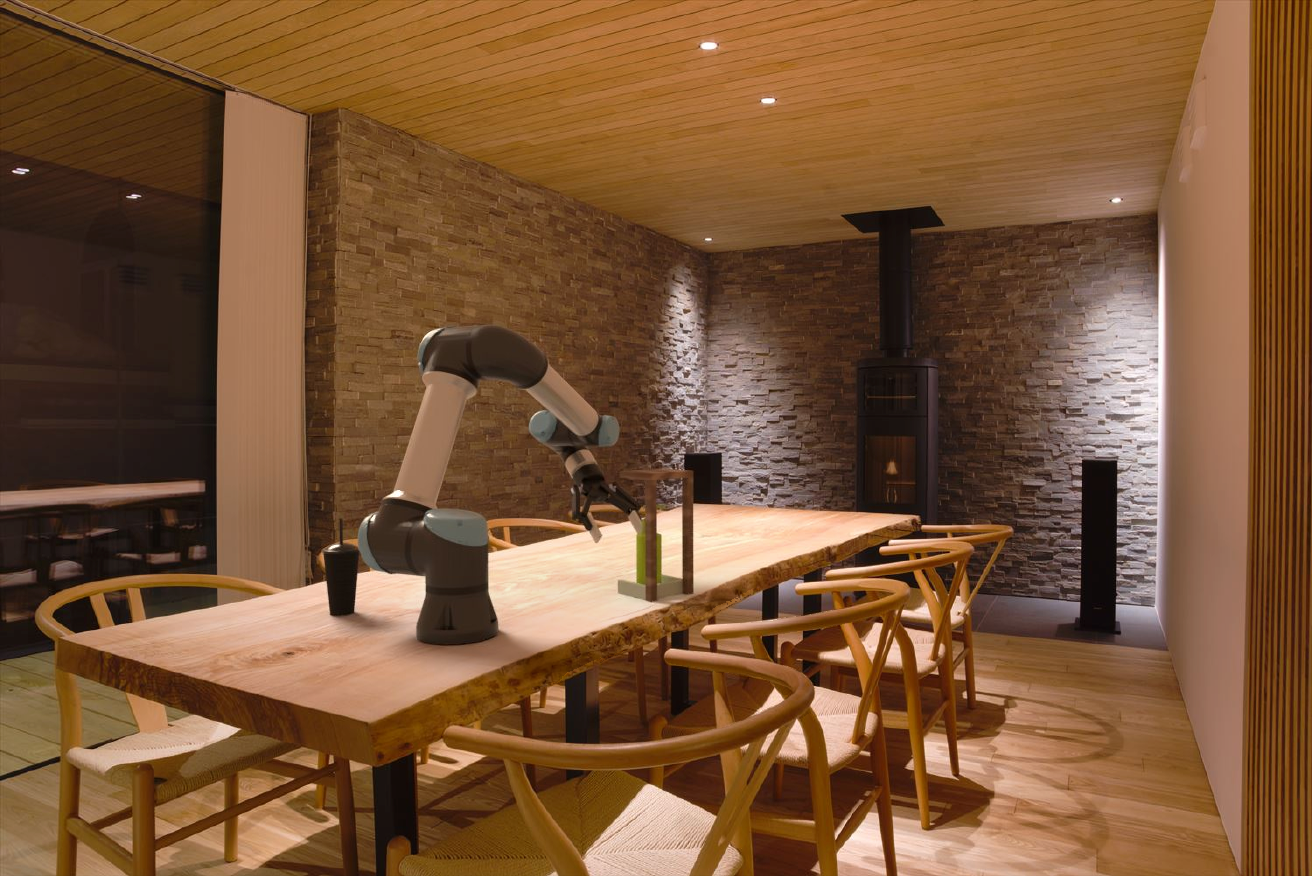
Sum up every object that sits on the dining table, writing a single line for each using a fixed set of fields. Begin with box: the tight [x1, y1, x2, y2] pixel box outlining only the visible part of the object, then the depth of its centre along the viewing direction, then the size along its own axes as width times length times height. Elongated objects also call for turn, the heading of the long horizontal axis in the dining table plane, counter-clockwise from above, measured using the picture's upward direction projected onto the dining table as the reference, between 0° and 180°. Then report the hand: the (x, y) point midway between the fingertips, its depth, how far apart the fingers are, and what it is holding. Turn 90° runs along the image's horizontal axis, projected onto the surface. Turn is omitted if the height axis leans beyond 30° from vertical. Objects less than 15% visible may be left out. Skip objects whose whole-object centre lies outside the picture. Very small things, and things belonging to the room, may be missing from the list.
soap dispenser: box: [635, 504, 667, 585], centre depth 197 cm, size 6×7×20 cm
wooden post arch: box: [619, 468, 694, 603], centre depth 195 cm, size 13×11×28 cm
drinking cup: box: [321, 517, 360, 617], centre depth 177 cm, size 8×8×20 cm
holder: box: [617, 573, 683, 601], centre depth 197 cm, size 12×10×3 cm
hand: (621, 536), depth 205 cm, fingers open, 13 cm apart
